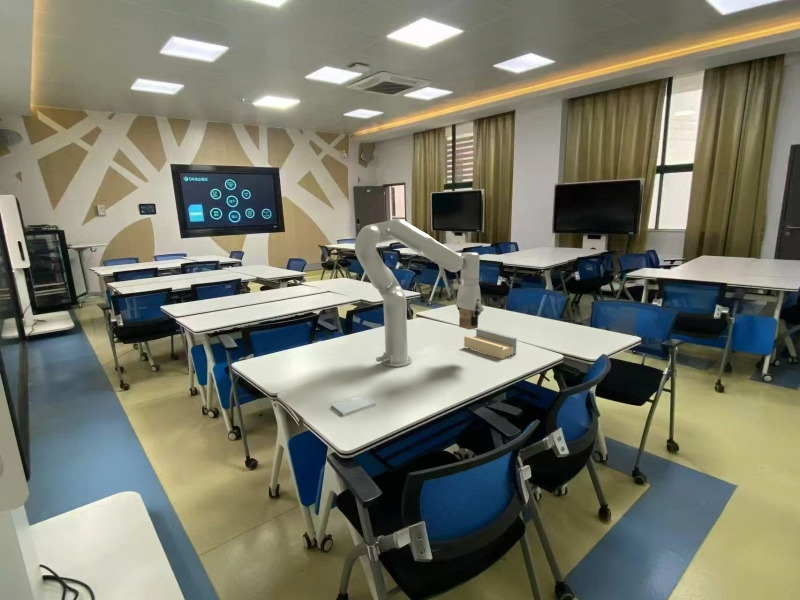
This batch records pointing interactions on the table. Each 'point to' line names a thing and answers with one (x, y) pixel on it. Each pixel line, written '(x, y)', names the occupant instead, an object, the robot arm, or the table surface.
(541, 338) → the table surface
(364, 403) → the hard drive
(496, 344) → the cleat board
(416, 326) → the table surface
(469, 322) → the cabinet block
